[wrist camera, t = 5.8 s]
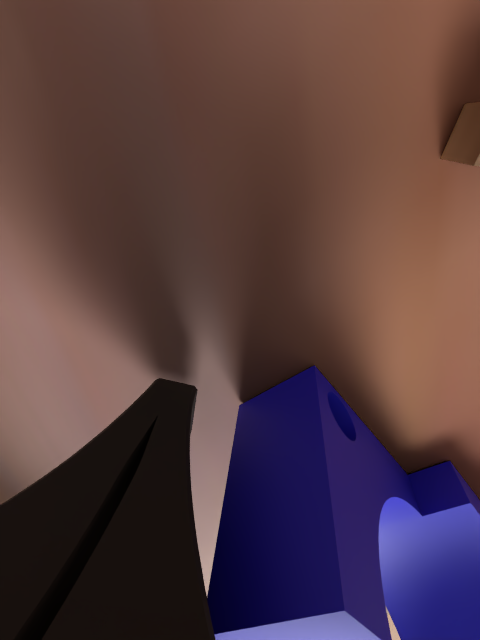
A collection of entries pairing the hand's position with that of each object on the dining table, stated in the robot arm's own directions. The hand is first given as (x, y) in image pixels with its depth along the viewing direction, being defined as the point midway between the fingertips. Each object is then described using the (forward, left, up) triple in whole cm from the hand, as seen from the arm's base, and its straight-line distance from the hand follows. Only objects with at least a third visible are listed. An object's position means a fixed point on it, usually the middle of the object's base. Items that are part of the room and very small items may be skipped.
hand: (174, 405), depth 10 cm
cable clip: (-3, -8, -1) cm, 8 cm away
